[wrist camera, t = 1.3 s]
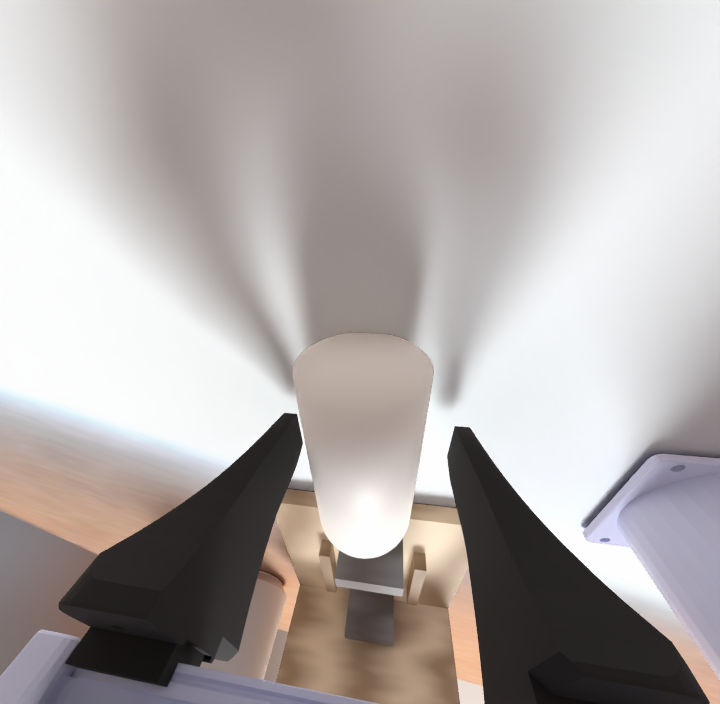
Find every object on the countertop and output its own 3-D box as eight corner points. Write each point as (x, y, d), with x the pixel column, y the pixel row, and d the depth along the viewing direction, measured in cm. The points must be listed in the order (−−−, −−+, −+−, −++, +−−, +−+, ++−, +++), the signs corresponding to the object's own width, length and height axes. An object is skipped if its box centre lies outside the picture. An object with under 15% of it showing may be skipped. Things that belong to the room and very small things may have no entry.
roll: (436, 339, 10) (429, 428, 6) (414, 474, 15) (403, 574, 11) (325, 327, 11) (262, 395, 7) (338, 455, 16) (303, 539, 12)
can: (211, 563, 28) (104, 774, 18) (270, 564, 26) (187, 802, 16) (246, 590, 31) (173, 780, 21) (300, 593, 29) (248, 803, 19)
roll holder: (482, 511, 16) (530, 689, 10) (444, 598, 25) (459, 725, 19) (275, 487, 18) (215, 630, 12) (304, 576, 26) (278, 687, 20)
